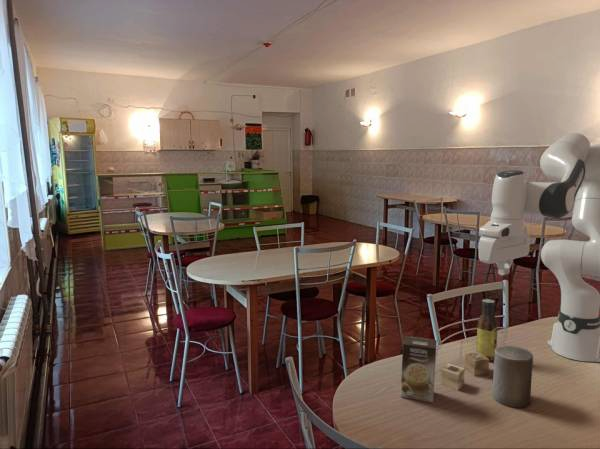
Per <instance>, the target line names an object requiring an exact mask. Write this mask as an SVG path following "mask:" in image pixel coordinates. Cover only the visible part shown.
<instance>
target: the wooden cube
mask: <svg viewBox="0 0 600 449" xmlns="http://www.w3.org/2000/svg"><path fill="white" fill-rule="evenodd" d="M489 365H490V361H489V359H488V358H487V357H485V356H484V355H482V354H481V353H477V352H471V353H465V355H464V368H465V370H466V371H467V372H468V373H469V374H471V375H472V376H473V377H476V376H484V375H485V376H486V375H489V370H490V366H489Z"/></svg>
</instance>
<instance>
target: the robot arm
mask: <svg viewBox="0 0 600 449" xmlns="http://www.w3.org/2000/svg"><path fill="white" fill-rule="evenodd" d="M539 165H540V166H539V167H540V169H541V171H542V172H543V174H544V175H545V176H546V177H547V178H549V179H551V180H553V181H555V182H549V181H548V182H545V181H544V182H541V181H529V180H528V179H526V172H524V171H523V170H522V171H521V170H520V169H519V170H518V169H516V170H515V169H514V170H513V169H511V170H503V171H500V172H498V173H496V175H495V177H494V180H493V184H492V192H491V205H492V206H491V207H492V211H491V214H490V220H489V221H487V222H486V223H485V224H484V225H481V226H480V227H479V230H478V231H479V232H478V234H479V235H480V238H479V241H478V259H479V261H480V262H481V263H483V264H489V265H492V264H496V267H497V269H498V270H497V274H498V275H500V276H505V275H509V274H510V270H511V269H510V268H511V267H512V265H513V262H514V259H519V258H523V257H527V256H529V254H530V250H531V249H530V248H531V246H530V244H531V243H530V234H529V232H528V229H527V227H526V226H525V218H526V216H525V215H527V216H528V215H529V216H530V215H531V216H540V217H546V218H552V219H557V220H559V219H562V218H563V217H565V216H567V215H568V214H569V213H570V212H571V211H572V210H573V211H572V217H571V224H572V226H573V227H574V229H576V231H578V232H580V233H582V234H584V235H585V236H587V237H588V238H589V241H583V240H572V239H551V240H548V241H547V242H545V244H544V245H543V246H542V248H541V251H540V258H541V259H540V260H541V261H542V263H543V264H544V266H545V267H546V268H548V270H550V271H551V273H553V275H554V276H555V277H556V279H557V282H558V284H559V288H560V309H559V310H558V315H557V317H558V318H557V320H558V321H556V322H554V324H553V328H552V333H551V339H549V340H547V343H546V344H547V345H548V346H550V348H551V350H552V351H553V352H554V353H556V354H557V355H559V356H562V357H564V358H567V359H570V360H575V361H579V362H595V363H600V292H599V291H598V290H597V288H595V287H594V286H592V285H590V284H589V283H587V282H586V281H585V280H584V279H583V278H582V275H587V276H594V277H600V143H596V144H595V143H594V144H591V142H590V139H588V137H586V136H585V135H584V134H581V133H579V132H572V133H567V134H565V135H564V136H562V137H561V136H560V138H558V139H557V140H556V141H554V142H553V143H552V144H550V145H549V146H548V147H546V149H545V150H544V152H543V153H542V155H541V157H540V161H539Z"/></svg>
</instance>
